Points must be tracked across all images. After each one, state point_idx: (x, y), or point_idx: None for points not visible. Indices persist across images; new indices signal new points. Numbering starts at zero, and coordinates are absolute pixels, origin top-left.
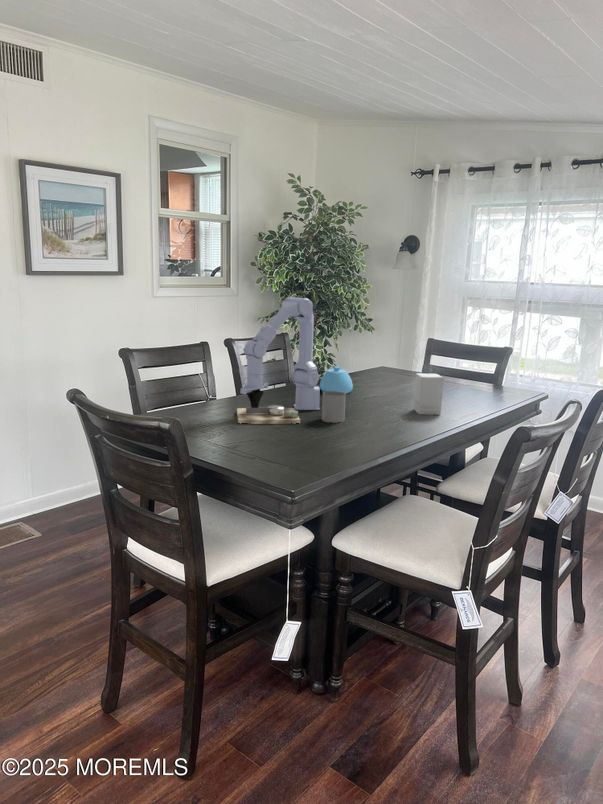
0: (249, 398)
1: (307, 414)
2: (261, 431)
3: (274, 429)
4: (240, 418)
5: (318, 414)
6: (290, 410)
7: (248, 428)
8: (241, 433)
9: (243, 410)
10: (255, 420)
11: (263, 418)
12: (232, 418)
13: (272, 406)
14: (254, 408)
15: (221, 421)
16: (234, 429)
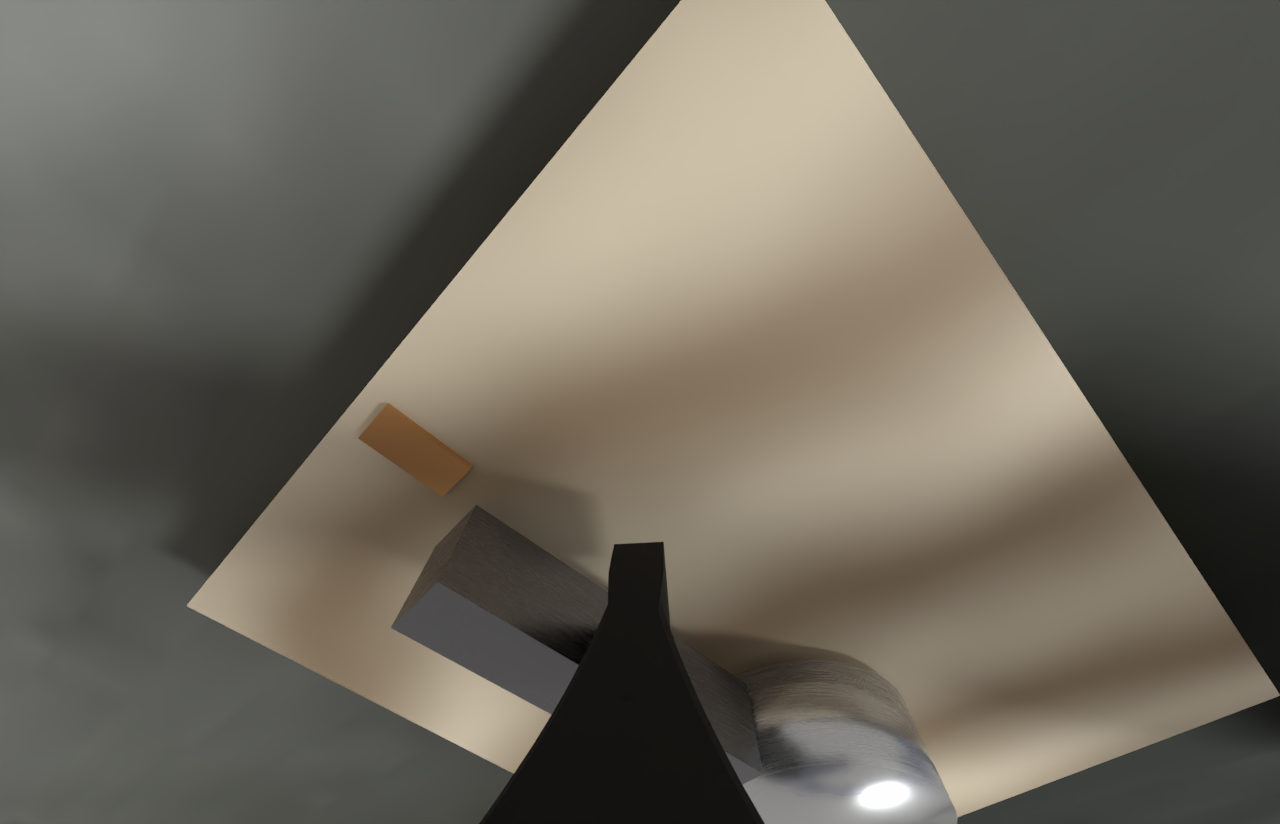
0: (514, 787)
1: (1127, 766)
2: (308, 795)
3: (443, 818)
4: (254, 578)
5: (1168, 813)
6: (1094, 728)
7: (251, 702)
8: (104, 743)
9: (670, 256)
10: (398, 705)
11: (518, 730)
12: (316, 301)
13: (833, 799)
14: (531, 692)
15: (43, 306)
16: (87, 648)
